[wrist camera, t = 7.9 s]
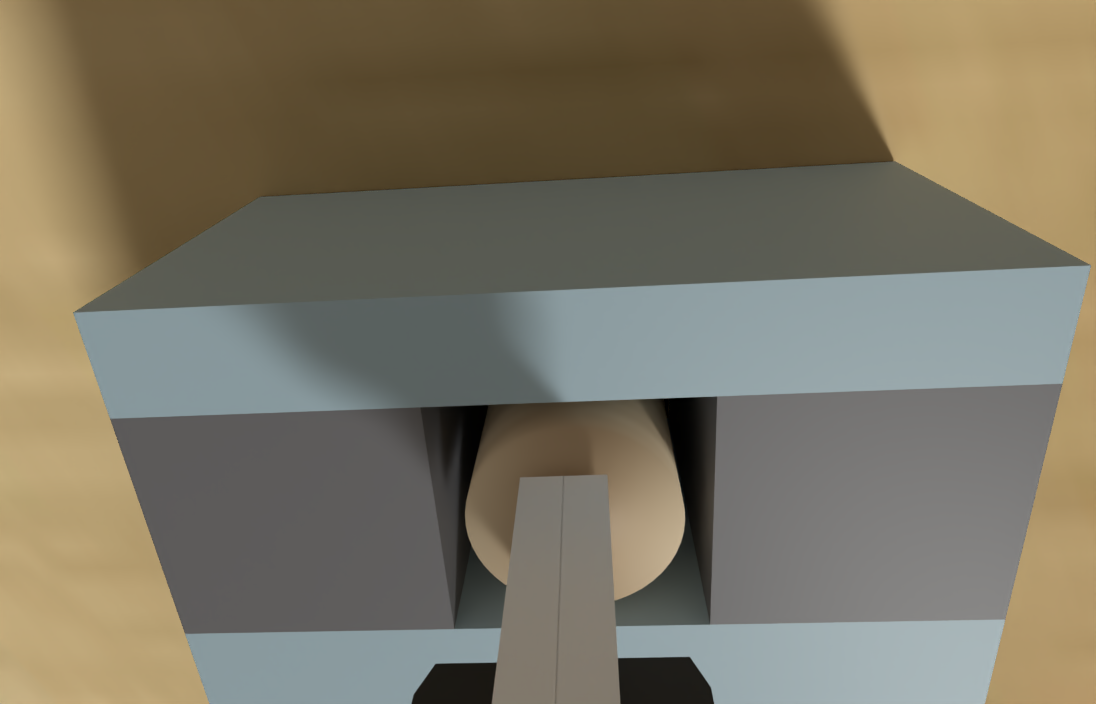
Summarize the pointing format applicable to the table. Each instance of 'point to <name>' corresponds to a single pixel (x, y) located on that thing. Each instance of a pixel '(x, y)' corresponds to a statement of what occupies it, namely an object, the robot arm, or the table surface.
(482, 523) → the maple peg
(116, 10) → the table surface
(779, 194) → the socket block
